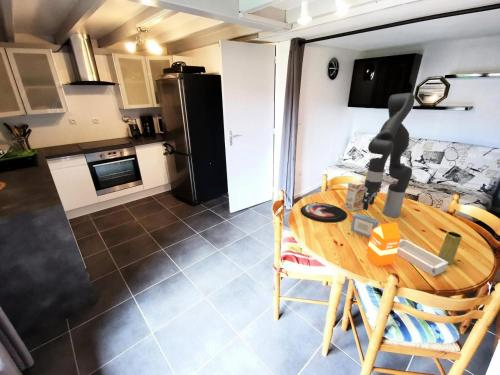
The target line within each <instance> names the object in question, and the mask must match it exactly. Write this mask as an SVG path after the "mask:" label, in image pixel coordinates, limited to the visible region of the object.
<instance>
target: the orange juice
mask: <svg viewBox="0 0 500 375" xmlns="http://www.w3.org/2000/svg"><path fill="white" fill-rule="evenodd" d="M401 239H402V237H401V233H400V230H399V226H398V221H396V222H388V223H381V224H378V226H377V227H376V228H375V229H373V230H372V233H371V237H370V238H369V240H368V245H367V247H368V248H367V251H366V256H365V257H367V258H368V259H369V260H370V261H371V262H372V263H373V264H375V265H376V267H379V266H386V265H392V264H394V263H395V259H396V255H397V254H396V253H397V249H398V245H399V242H400V240H401Z"/></svg>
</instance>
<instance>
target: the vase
mask: <svg viewBox="0 0 500 375" xmlns="http://www.w3.org/2000/svg"><path fill="white" fill-rule="evenodd" d="M462 238H463V236H462V235H461V234H460V233H458V232H455V231H447V232H446V236H445V237H444V240H443V243H442V245H441V248H440V249H439V252H438V254H437V256H438V257H439V258H441V259H443V260H445V261H447V262H448V265H453V264H454V261H455V257H456V255H457V251H458V248H459V246H460V243H461V241H462Z"/></svg>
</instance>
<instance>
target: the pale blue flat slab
mask: <svg viewBox="0 0 500 375" xmlns="http://www.w3.org/2000/svg"><path fill="white" fill-rule="evenodd" d="M351 222H352V223H351V227H350V231H351V232H353V233H356V234H359V235H361V236H363V237H366V238H369V239H370V237H371V233H372V230H373V229H375V228H376V227H377V226H379V219H376V218H373V217H369V216H366V215H363V214H361V213H357V212H356V213H355V214H353V216H352V221H351Z"/></svg>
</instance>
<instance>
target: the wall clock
mask: <svg viewBox="0 0 500 375" xmlns="http://www.w3.org/2000/svg"><path fill="white" fill-rule="evenodd" d="M300 210H301V211H300V213H301V212H302V213H301V214H302V215H303V216H304V217H305V216H306V218H308V219H309V218H310V220H313V221H315V222H320V223H340V222H343V221H345V220H346V219H347V218H348V214H347V212H346V211H345V210H344V209H343V208H341V207H339V206H337V205H334V204H330V203H324V202H313V203H308V204H305V205H302V206H301V208H300Z"/></svg>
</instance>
